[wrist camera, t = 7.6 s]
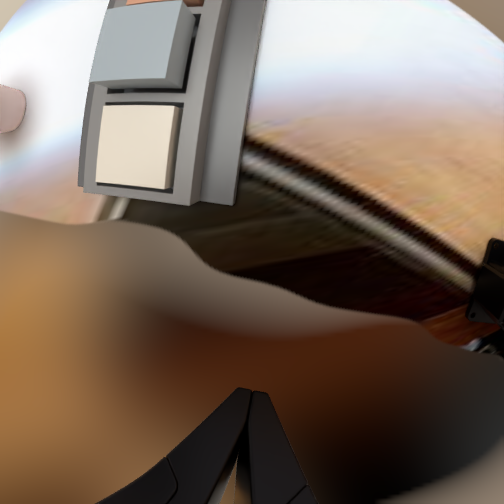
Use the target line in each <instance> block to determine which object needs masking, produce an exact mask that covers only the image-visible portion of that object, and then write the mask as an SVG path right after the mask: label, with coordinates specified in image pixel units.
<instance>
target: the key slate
mask: <svg viewBox="0 0 504 504" xmlns="http://www.w3.org/2000/svg"><path fill="white" fill-rule="evenodd" d="M195 20H196V18H195V17H194V15H193V14H192V13H191V11H190V10H189V8H188V7H187V6H186V4H185V3H184V2H183V0H176V1H163V2H153V3H144V4H137V5H130V6H123V7H117V8H112V9H107V10H106V13H105V17H104V20H103V24H102V27H101V31H100V35H99V39H98V43H97V47H96V51H95V56H94V60H93V65H92V69H91V74H90V80H89V82H91V83H94V84H97V85H101V86H104V87H107V88H110V89H131V88H181V89H182V86H183V80H184V74H185V69H186V63H187V58H188V53H189V48H190V43H191V38H192V34H193V29H194V24H195Z"/></svg>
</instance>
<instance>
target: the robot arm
mask: <svg viewBox="0 0 504 504" xmlns="http://www.w3.org/2000/svg"><path fill="white" fill-rule="evenodd" d="M495 243H496V246H495V247H494V244H495ZM472 313H473V314H472ZM471 314H472V315H471ZM466 317H467V319H468V320H469V321H475V322H485V323H496V324H497V325H498V326H499V327H500V328H501V329H502V330H503V331H504V241H503V240H500V239H496V238H493V239H491V240H490V242H489V245H488V249H487V252H486V256H485V259H484V263H483V266H482V269H481V272H480V275H479V279H478V282H477V284H476V287H475V290H474V293H473V296H472V299H471V301H470V304H469V307H468V309H467V312H466ZM238 452H239V453H238ZM237 456H238V459H237ZM236 460H237V467H236V480H235V493H234V504H318V502H317V500H316V498H315V496H314V494H313V492H312V490H311V488H310V486H309V485H307V484H308V482H307V480H306V478H305V476H304V473H303V471H302V469H301V467H300V465H299V462H298V460H297V458H296V456H295V454H294V452H293V449H292V447H291V446H290V443H289V440H288V438H287V436H286V434H285V431H284V429H283V427H282V425H281V422H280V420H279V418H278V416H277V413H276V411H275V409H274V406H273V404H272V402H271V399H270V397H269V395H268V394H267V393H266V392H260V391H253V392H252V391H251V390H250V389H245V388H240V387H239V388H237V389H235V391H234V392H233V393H232V394H230V396H229V397H227V399H225V400H224V402H223V403H221V404H220V406H218V408H216V409H215V410H214V411H213V412H212V413H211V414H210V415H209V416H208V417H207V418H206V419H205V420H204V421H203V422H202V423H201V424H200V425H199V426H198V427H197V428H196V429H195V430H194V431H192V432H191V433H190V434H189V435H188V436H187V437H186V438H185V439H184V440H183V441H182V442H181V443H179V444H178V445H177V446H176V447H175V448H174V449H173V450H172V451H171V452H170V453H169V454H167V455H166V457H164V458H163V459H161V460H160V461H159V462H158V463H157V464H156V465H155V466H153V467H152V468H151V469H149V470H148V471H147V472H146V473H144V474H143V475H142V476H140V477H139V478H137V479H136V480H134V481H133V482H131V483H130V484H128V485H127V486H125V487H124V488H122V489H120V490H118V491H117V492H115V493H113V494H111V495H110V496H108V497H106V498H104V499H103V500H101V501H99V502H97V503H95V504H219V503H220V501H221V498H222V496H223V493H224V491H225V488H226V486H227V484H228V481H229V478H230V476H231V474H232V470H233V468H234V466H235V463H236Z"/></svg>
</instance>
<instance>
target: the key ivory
mask: <svg viewBox="0 0 504 504" xmlns="http://www.w3.org/2000/svg"><path fill="white" fill-rule="evenodd" d="M182 115H183V109H180V108H178V107H176V106H161V105H111V106H103V112H102V119H101V127H100V136H99V145H98V155H97V167H96V182H102V183H113V184H122V185H132V186H141V187H150V188H158V189H167V188H170V187H174V178H175V169H176V160H177V152H178V144H179V136H180V129H181V122H182Z"/></svg>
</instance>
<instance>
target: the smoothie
mask: <svg viewBox="0 0 504 504" xmlns="http://www.w3.org/2000/svg"><path fill="white" fill-rule="evenodd" d="M25 108H26V100H25V96H24V94H23V92H21V91H20V90H17V89H13V88H10V87H7V86H4V85H1V84H0V133H5V132H10V131H13V130H15V129H16V128H17V127H18V126H19V125H20V123H21V121H22V119H23V117H24V113H25Z"/></svg>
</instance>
